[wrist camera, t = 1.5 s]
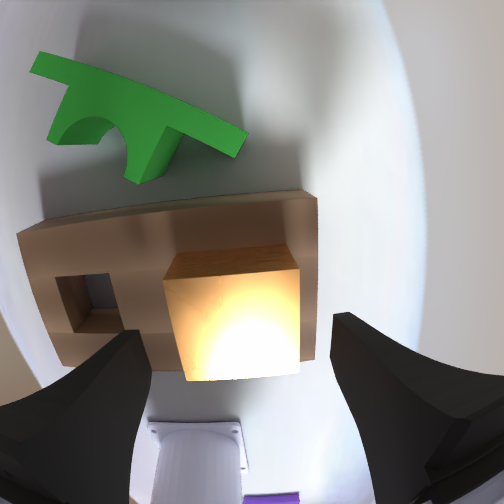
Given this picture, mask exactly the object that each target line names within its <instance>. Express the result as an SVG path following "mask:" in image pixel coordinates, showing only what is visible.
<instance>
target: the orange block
mask: <svg viewBox="0 0 504 504" xmlns="http://www.w3.org/2000/svg"><path fill="white" fill-rule="evenodd" d="M162 282H163V287H164V291H165V296H166V301H167V305H168V310H169V314H170V319H171V323H172V327H173V331H174V335H175V339H176V343H177V347H178V351H179V355H180V359H181V362H182V366H183V370H184V373H185V377H186V380H187V381H202V380H224V379H239V378H251V377H262V376H272V375H281V374H289V373H297V372H299V342H300V269H299V267H298V265H297V263H296V261H295V259H294V257H293V256H292V254H291V252H290V250H289V248H288V246H287V245H286V244H278V245H266V246H254V247H243V248H231V249H220V250H208V251H197V252H186V253H177V254H176V256H175V257H174V259H173V261H172V263H171V265H170V267H169V269H168V270H167V272H166V274H165V276H164V278H163V280H162Z"/></svg>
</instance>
